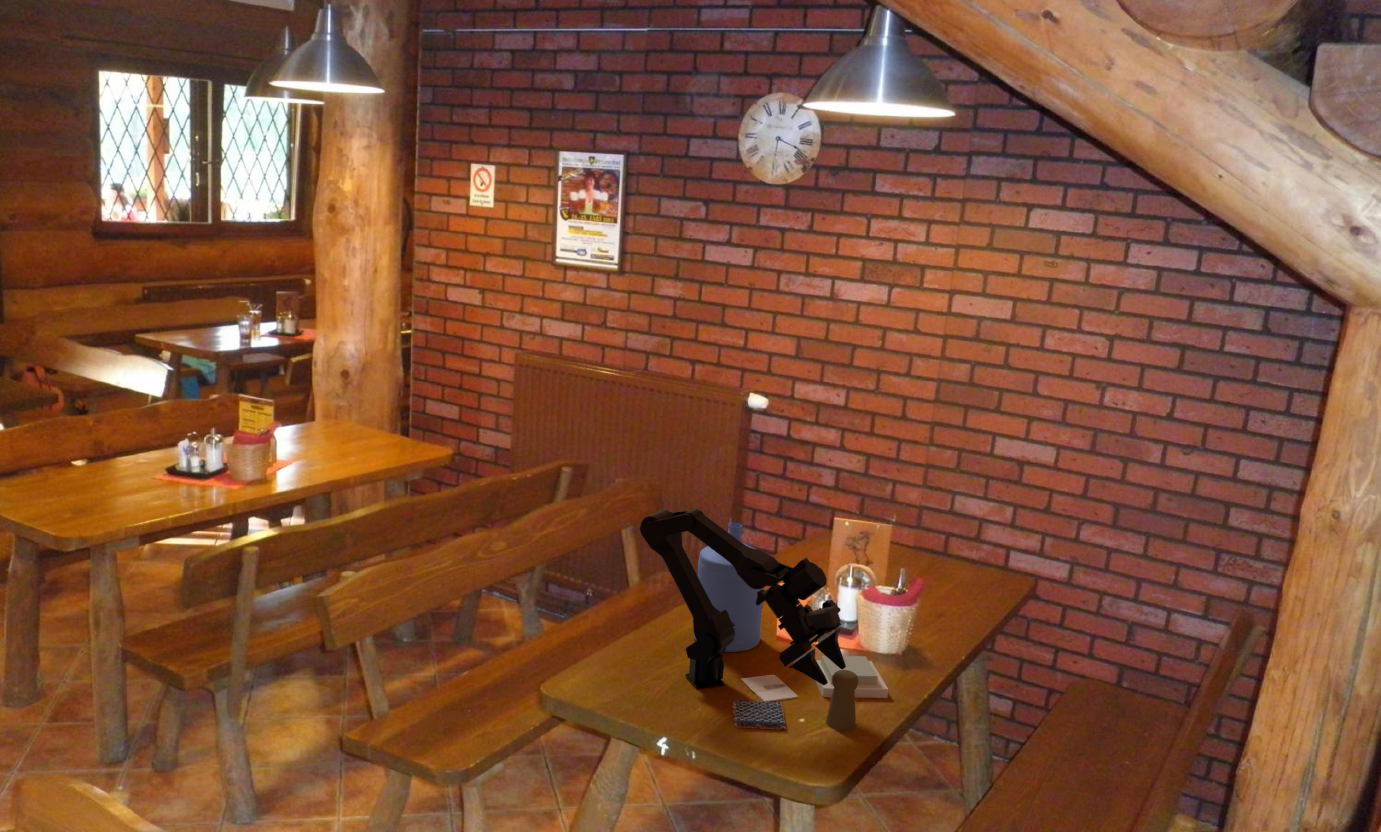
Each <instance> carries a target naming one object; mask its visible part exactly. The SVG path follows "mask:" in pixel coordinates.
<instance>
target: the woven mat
mask: <svg viewBox="0 0 1381 832" xmlns="http://www.w3.org/2000/svg"><path fill="white" fill-rule="evenodd" d="M732 709H733V710H732V713H733V714H734V718H733V721H734V723H733V724H734V727H736V728H742V729H745V728H746V729H758V730H759V729H762V730H763V729H764V730H778V731H779V730H781V731H784V730H787V726H786V725H785V724H786V719H785V713H784V709H783V704H782V703H781V702H778V701H777V702H776V701H771V702H768V701H766V702H763V701H761V699H760V700H758V701H757V700H755V701H754V700H753V699H751V700H750V701H749V700H746V699H742V700H740V699H739V701H738V699H737V698H735V701H732Z"/></svg>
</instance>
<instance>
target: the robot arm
mask: <svg viewBox="0 0 1381 832" xmlns="http://www.w3.org/2000/svg"><path fill="white" fill-rule="evenodd" d="M639 532H640V534H641V537H642V539H643V540H644V541H645V542H646V544H647V546H648V547H649V548H650V549H651V550H652V551H654V552H655V553H656V554H657V555H659V556H660V557H661V558H662V560H663V561H664V564H665V566H666V568H667V569H668V571H669V573H670V576H671V577H672V579H673V582H674V583H675V585H676V587H677V589H678V591H679V593H680V594H681V597H682V599H683V601H684V602H685V605H686V607H687V609H688V610H689V612H690V614H691V617H692V627H693V631H694V635H695V638H696V640H695V641H694V642H692V643H691V644H690V645H688V646H687V647H686V648H685V652H686V656H687V657H686V658H688V659H689V669H688V672H687V673H685V678H686V679H687V680H688V681H689V682H690V683H691V684H692V685H693V687H694V688H695V689H704V688H714V687H719V686H724V685H725V682H724V681H723V679H724V669H725V661H724V660H723V658H724V655H723V654H722V652H723V651H724V650H725V649H726V647H727V646H728V645H730V644H731V643H732V642H733V641H734V637H735V630H734V628H733V627H734V626H735V624H734V623H732V621H731V620H730V617H729V615H728V612H727V611H726V610H723V611H721V612H720V611H719V610H717V609H716V608H715V607H714V606H713V605H712V603H711V601H710V599H709V597H708V595H707V593H706V592H705V590H704V588H703V586H702V584H701V582H700V580H699V578H698V573H697V572H696V570H695V568H694V567H693V564H692V563H691V561H690V559H689V556H688V555H687V553H686V551H685V549H684V547H683V534H682V533H684V532H689V533H690V534H691V535H692V536H694V537H695V538H696V539H698V540H699V541H701V542H702V543H703V544H704V545H706V547H707V546H708V547H710V548H711V549H712V550H714V551H715V552H716V553H718V554H719V555H720V556H722V557H723V558H724V559H726V560H727V561H728V562H730V563H731V564H732V565H733V567H734V568H735V570H736V572H737V574H738V576H739V577H740V578H741V579H742V580H743V581H744V582H745V583H746V584H747V585H748V586H749V587H751V588H752V589H762V588H764V590H763V589H762V590H760V591H758V592H757V600H756V605H757V606H758V605H760V604H762V603H763V604H764V603H766V604H767V605H768V607H769V609H770V610H771V611H772V613H773V614H774V616H775V617H776V618H777V620H778V621H779V623H780V624H779V625H777V627H778V629H779V630H780V631H782V630H783V629H784V630H785V632H786V633H787V634H788V635H789V637H790V639H791V642H789V644H790V645H789V646H787V647H786V648H784V649H783V650H782V651H781V652H779V656H778V661H779V662H780V663H781V665H782V666H783V667H784V668H786V667H787V666H788V668H789V669H794V670H796V671H797V672H799V673H800V674H801V673H802V674H803V675H805V676H806V677H808V678H810V679H812V680H814V682H815V681H817V682H819V683H820V684H822V685H826V684H827V683H828V681H827V679H826V677H825V675H824V673H823V672H822V670H821V668H820V666H819V665H818V663H817V661H816V649H817V650H818V651H820V653H822V654H823V656H826V657H828V658H829V659H830V660H831V661H832V662H833V663H834V664H835V665H837V666H838V667H839V668H840V669H844V668H845V667H846V665H845V662H844V659H843V656H844V655H843V654H842V653H843V652H842V651H841V648H840V644H839V635H840V632H841V628H839V627H840V626H841V625H842V623H841V618H840V614H839V613H840V612H841V608H840V607H838V604H837V603H836V602H834V600H833V599H828V600H825V601H824V602H823V603H822V605H821V607H819V608H817V609H815V610H813V608H812V607H811V606H809V605H807V604H806V605H805V606H804V605H803V604H802V602H801V601H805V600H806V601H807V599H809V598H810V597H812V596H813V595H815V593H816V592H818V591H820V590H821V589H822V588H824V587H825V586H827V583H828V581H827V580H828V579H827V576H826V573H825V571H824V570H823V568H821V567H819V565H817V564H816V563H814V562H811V561H810V560H809V559H808V557H805V558H803V559H801V560H800V561H799V562H797V563H796V565H795V566H794V567H792V566H789V565H787V564H784V563H782V562H779V561H778V560H777V559H776V557H774V556H772V555H770V554H768V553H766V552H765V551H762V550H760V549H757V548H755V549H753V548H754V547H753V548H750V547H748V546H746V545H744V544H743V543H744V542H742V541H741V542H742V543H741V542H740V541H739V540H737V539H736V538H735V537H733V536H732V535H731V534H729V533H728V530H725V529H724V528H723V527H721V526H720V525H719V524H717V523H716V522H714V521H713V520H712V519H710V518H709V517H708V516H706V514H705V513H704V512H703V511H702V510H700V509H698V508H693V509H690V510H679V511H675V512H673V511H671V510H667V509H662V510H659V511H657V512H654V513H652V514H650V515H647V516H646V517H644V518H643V519H642V521H641V523H640V526H639ZM780 582H783V583H782V585H781V584H779V583H780ZM765 587H768V588H767V589H766V590H765ZM800 600H801V601H800ZM693 631H692V632H693ZM694 635H693V636H694ZM695 638H694V639H695ZM816 643H817V644H816ZM813 644H815V645H814V647H815V648H813V649H812V647H813V646H812V645H813ZM811 649H812V650H811Z"/></svg>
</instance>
